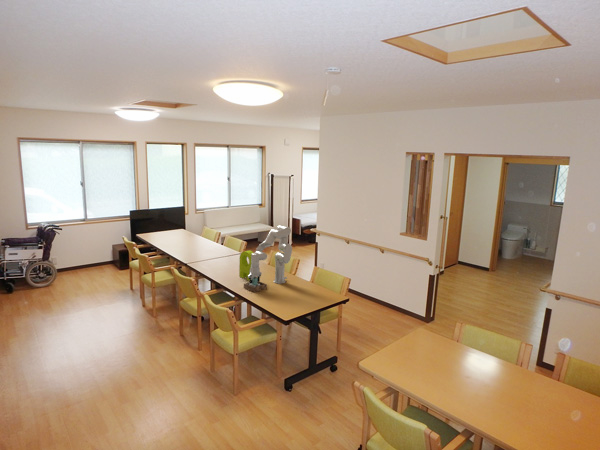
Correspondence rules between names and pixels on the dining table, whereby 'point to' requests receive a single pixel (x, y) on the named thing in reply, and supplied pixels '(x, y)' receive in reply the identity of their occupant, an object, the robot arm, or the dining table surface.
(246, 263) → the decorative object
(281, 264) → the robot arm
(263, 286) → the walled box
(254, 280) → the connector
